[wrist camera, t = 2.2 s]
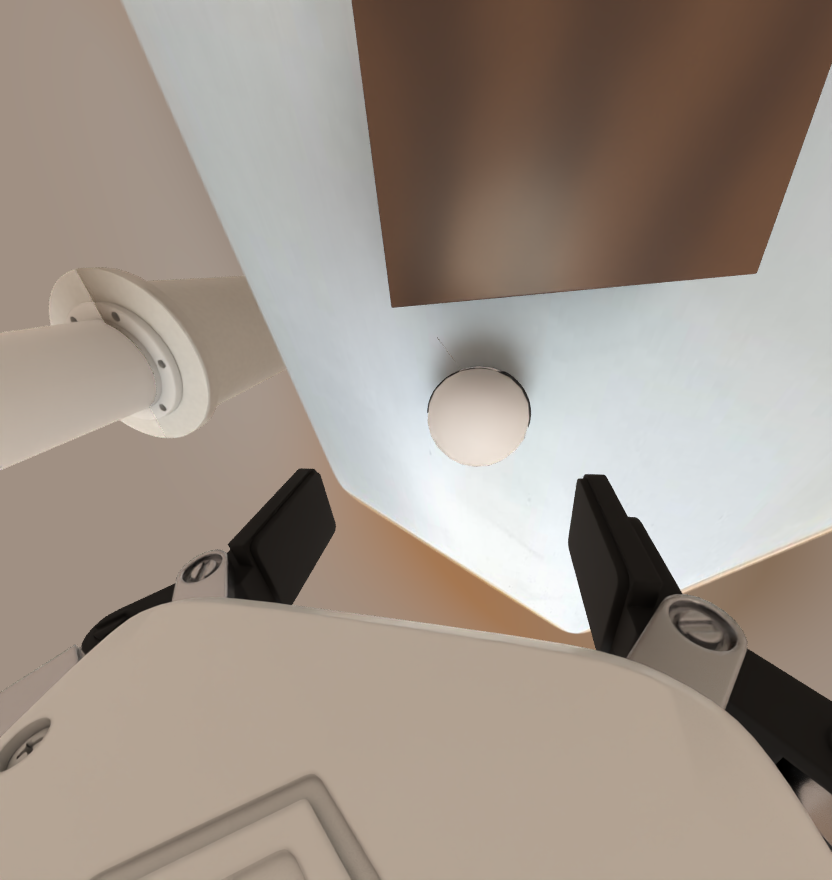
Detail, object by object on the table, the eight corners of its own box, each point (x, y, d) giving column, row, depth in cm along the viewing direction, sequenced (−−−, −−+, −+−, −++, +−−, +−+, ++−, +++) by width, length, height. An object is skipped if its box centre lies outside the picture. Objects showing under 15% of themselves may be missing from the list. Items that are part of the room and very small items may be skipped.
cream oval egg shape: (532, 428, 27) (545, 478, 20) (448, 443, 29) (436, 493, 23) (510, 306, 23) (518, 323, 16) (414, 335, 25) (389, 360, 19)
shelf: (419, 295, 23) (377, 314, 15) (393, 10, 17) (291, -259, 8) (667, 270, 20) (806, 275, 11) (757, -105, 13) (1264, -805, 5)
